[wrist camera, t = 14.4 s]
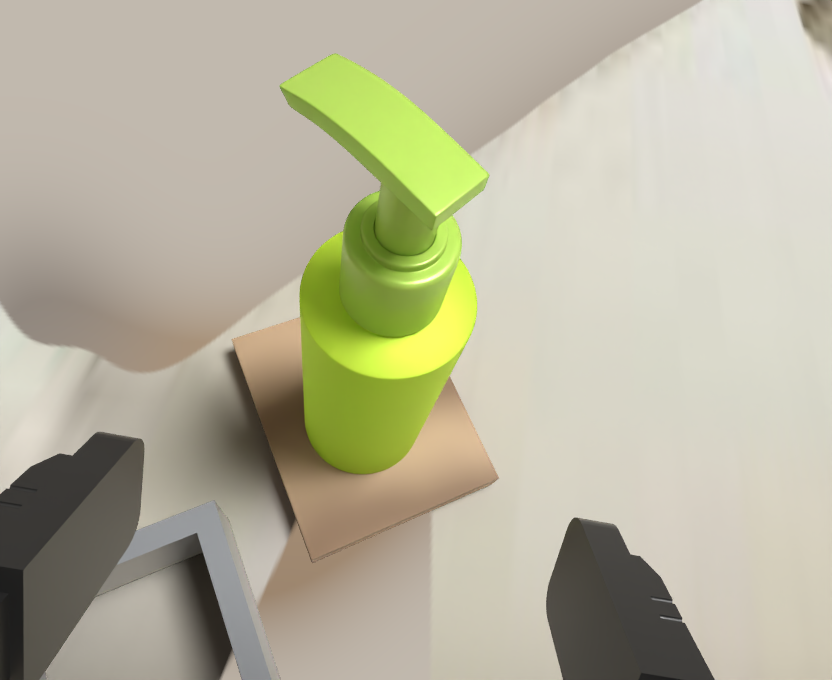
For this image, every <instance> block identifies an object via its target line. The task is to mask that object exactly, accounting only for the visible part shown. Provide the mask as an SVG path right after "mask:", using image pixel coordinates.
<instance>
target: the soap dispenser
mask: <svg viewBox="0 0 832 680" xmlns="http://www.w3.org/2000/svg"><path fill="white" fill-rule="evenodd" d="M280 89H281V91H282V93H283V94H284V96H285V98H286V100H287V102H288V104H289V105H290V107H292V108H293V109H294V110H296V111H297V112H299V113H300V114H302V115H303V116H305V117H306V118H308V119H309V120H311V121H312V122H313V123H315V124H316V125H317V126H319V127H320V128H321V129H323V130H324V131H325V132H326V133H328V134H329V135H330V136H331V137H333V138H334V139H335V140H336V141H337V142H338V143H339V144H340V145H342V146H343V147H344V148H345V149H346V150H347V151H348V152H349V153H350V154H351V155H353V156H354V157H355V158H356V159H357V160H358V161H359V162H360V163H361V164H362V165H363V166H364V167H365V168H366V169H367V170H368V171H370V172H371V173H372V174H373V175H374V176H375V177H376V178H377V179H378V180H379V181H380V182H381V186H380V191H378V192H375V193H373V194H370V195H368V196H367V197H365V198H364V199H362V200H361V201H360V202H358V203H357V204H356V205H355V207H354V208H353V209H352V210H351V212H350V213H349V215H348V217H347V220H346V222H345V225H344V230H343V231H342V232H340V233H338V234H337V235H335V236H333V237H332V238H331V239H329V240H328V241H326V242H325V243H324V244H323V245H322V246H321V247H320V248H319V249H318V250H317V251H316V252H315V254H314V255H313V256H312V258H311V259H310V261H309V263H308V264H307V266H306V269H305V271H304V274H303V277H302V280H301V285H300V322H301V346H302V369H303V392H304V415H305V428H306V432H307V435H308V438H309V441H310V443H311V445H312V446H313V448H314V449H315V451H316V452H317V453H318V454H319V456H320V457H321V458H322V459H324V460H325V461H326V462H327V463H329V464H330V465H332V466H333V467H335V468H337V469H339V470H342V471H345V472H348V473H353V474H372V473H377V472H381V471H383V470H386V469H388V468H390V467H392V466H394V465H395V464H397V463H398V462H399V461H400V460H402V459H403V458H404V457H405V456H406V455H407V453H408V452H409V451H410V449H411V448H412V446H413V444H414V442H415V441H416V439H417V437H418V435H419V433H420V431H421V429H422V427H423V425H424V423H425V421H426V420H427V418H428V416H429V414H430V412H431V410H432V408H433V406H434V404H435V402H436V400H437V399H438V397H439V395H440V393H441V391H442V389H443V387H444V385H445V383H446V381H447V380H448V378H449V376H450V374H451V372H452V370H453V368H454V366H455V364H456V362H457V360H458V359H459V357H460V355H461V353H462V351H463V349H464V347H465V345H466V343H467V341H468V339H469V337H470V335H471V333H472V331H473V328H474V325H475V321H476V315H477V297H476V291H475V287H474V284H473V281H472V278H471V276H470V274H469V272H468V270H467V268H466V266H465V265H464V263H463V262H462V261H461V259H460V255H461V249H462V238H461V233H460V229H459V226H458V224H457V222H456V220H455V218H454V217H453V214H454V213H455V212H457V211H458V210H459V209H460V208H462V207H463V206H464V205H465V204H467V203H468V202H469V201H470V200H472V199H473V198H474V197H475V196H477V195H478V194H479V193H480V192H482V191H483V190H484V188H485V186H486V183H487V180H488V178H489V174H488V173H487V172H486V171H485V170H484V169H483V168H482V167H481V166H480V165H479V164H478V163H477V162H476V161H475V160H474V159H473V158H472V157H471V156H470V155H469V154H468V153H467V152H466V151H465V150H464V149H463V148H462V147H461V146H460V145H458V143H457V142H455V141H454V140H453V139H452V138H451V137H450V136H449V135H448V134H447V133H446V132H445V131H444V130H443V129H442V128H441V127H439V126H438V125H437V124H436V123H435V122H434V121H433V120H432V119H431V118H430V117H429V116H427V115H426V114H425V113H424V112H423V111H422V110H421V109H420V108H418V107H417V106H416V105H415V104H414V103H413V102H411V101H410V100H409V99H408V98H406V97H405V96H404V95H403V94H401V93H400V92H398V91H397V90H396V89H395V88H394V87H392V86H391V85H389V84H388V83H386V82H385V81H384V80H382V79H381V78H379V77H378V76H376V75H375V74H373V73H371V72H370V71H368V70H366V69H365V68H363V67H361V66H360V65H358V64H356V63H354V62H352V61H350V60H348V59H347V58H345V57H342V56H340V55H338V54H332V55H330V56H328V57H326V58H325V59H323V60H321V61H320V62H317V63H316V64H314V65H312V66H311V67H309V68H307V69H305V70H304V71H302V72H300V73H299V74H297V75H295V76H294V77H292V78H290V79H289V80H287V81H285V82H284V83H282V84H281V85H280Z"/></svg>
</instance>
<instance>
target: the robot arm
mask: <svg viewBox="0 0 832 680" xmlns="http://www.w3.org/2000/svg"><path fill="white" fill-rule="evenodd" d="M143 464H144V443H143V441H142V440H141V439H138V438H132V437H127V436H121V435H115V434H110V433H104V432H97V433H95V434H94V435H93V436H92V437H91V438H90V439H89V440H88V441H87V442H86V443H85V444H84V445H83V446H82V447H81V448H80V449H79V450H78V451H77V452H76V453H75V454H74V455H73V456H71V455H65V454H57V455H55V456H53V457H51V458H49V459H47V460H44V461H42V462H40V463H38V464H36V465H34V466H31V467H30V468H29V469H28V470H27V471H25V472H24V473H23V474H22V475H21V476H20V477H19V478H18V479H17V480H16V481H14V482H13V483H12V484H11V486H10V489H6V490H5V491H3V492H2V493H1V494H0V680H40V678H41V677H42V675H43V674H44V672H45V671H46V669H47V668H48V666H49V665H50V663H51V662H52V660H53V659H54V657H55V656H56V654H57V653H58V651H59V650H60V648H61V647H62V645H63V644H64V642H65V641H66V639H67V638H68V636H69V635H70V633H71V632H72V630H73V629H74V627H75V626H76V624H77V623H78V621H79V620H80V619H81V617H82V616H83V614H84V613H85V611H86V610H87V608H88V607H89V605H90V604H91V602H92V601H93V599H94V598H95V596H96V595H97V593H98V592H99V590H100V589H101V587H102V586H103V584H104V583H105V581H106V580H107V578H108V577H109V575H110V574H111V572H112V571H113V569H114V568H115V566H116V565H117V563H118V562H119V560H120V559H121V557H122V556H123V554H124V553H125V551H126V550H127V548H128V547H129V545H130V543H131V541H132V539H133V537H134V534H135V531H136V528H137V525H138V521H139V516H140V507H141V493H142V478H143ZM546 610H547V618H548V622H549V626H550V630H551V634H552V638H553V642H554V646H555V649H556V653H557V657H558V661H559V665H560V669H561V673H562V677H563V680H714V678H713V676H712V674H711V672H710V670H709V668H708V666H707V664H706V663H705V661H704V659H703V657H702V655H701V653H700V651H699V649H698V647H697V645H696V643H695V642H694V640H693V638H692V636H691V634H690V632H689V630H688V628H687V626H686V624H685V623H682V617H681V615H680V613H679V611H678V609H677V607H676V605H675V604H672V598H671V596H670V594H669V592H668V590H667V588H666V586H665V584H664V583H663V581H662V579H661V577H660V576H659V575H658V574H657V573H656V572H655V571H654V570H653V569H652V568H651V567H650V566H649V565H648V564H647V563H646V562H645V561H644V560H643V559H642V558H641V557H640V556H635V555H630V553H629V551H628V549H627V547H626V545H625V543H624V540H623V538H622V536H621V534H620V532H619V530H618V528H617V527H616V526H615V525H614V524H609V523H604V522H598V521H593V520H587V519H581V518H573V519H572V520H571V522H570V524H569V526H568V528H567V531H566V534H565V537H564V540H563V543H562V546H561V549H560V552H559V555H558V558H557V561H556V564H555V567H554V570H553V573H552V576H551V579H550V582H549V586H548V591H547V600H546Z"/></svg>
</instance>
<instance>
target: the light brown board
mask: <svg viewBox="0 0 832 680" xmlns="http://www.w3.org/2000/svg"><path fill="white" fill-rule="evenodd" d="M232 341H233V345H234V348H235V352H236V354H237V357H238V360H239V363H240V365H241V368H242V371H243V374H244V377H245V379H246V382H247V385H248V388H249V390H250V393H251V396H252V399H253V401H254V404H255V407H256V410H257V412H258V415H259V418H260V421H261V423H262V426H263V429H264V432H265V435H266V437H267V440H268V443H269V446H270V448H271V451H272V454H273V457H274V459H275V462H276V465H277V468H278V470H279V473H280V476H281V479H282V481H283V484H284V487H285V490H286V493H287V495H288V498H289V501H290V504H291V506H292V509H293V512H294V515H295V517H296V520H297V523H298V526H299V528H300V531H301V534H302V537H303V539H304V542H305V545H306V548H307V550H308V553H309V556H310V559H311V562H312V563H314V562H316V561H318V560H321V559H323V558H325V557H327V556H330V555H332V554H334V553H336V552H339V551H341V550H343V549H346V548H348V547H350V546H352V545H355V544H357V543H359V542H361V541H364V540H366V539H368V538H371V537H373V536H375V535H377V534H380V533H382V532H384V531H386V530H389V529H391V528H393V527H396V526H398V525H400V524H402V523H405V522H407V521H409V520H411V519H414V518H416V517H418V516H420V515H423V514H425V513H427V512H430V511H432V510H434V509H436V508H439V507H441V506H443V505H446V504H448V503H450V502H452V501H455V500H457V499H459V498H461V497H464V496H466V495H468V494H471V493H473V492H475V491H477V490H480V489H482V488H484V487H486V486H489V485H491V484H492V483H494V482H495V481H496V480H497V479H498V478H499V477H498V475H497V473H496V471H495V469H494V467H493V465H492V463H491V461H490V459H489V457H488V455H487V453H486V450H485V448H484V446H483V444H482V442H481V440H480V438H479V436H478V434H477V432H476V430H475V428H474V426H473V424H472V422H471V420H470V417H469V415H468V413H467V411H466V409H465V407H464V405H463V403H462V401H461V399H460V397H459V395H458V393H457V391H456V389H455V386H454V384H453V382H452V380H451V378H450V376H449V378H448V380H447V381H446V383H445V385H444V387H443V389H442V391H441V393H440V395H439V397H438V399H437V400H436V402H435V404H434V406H433V408H432V410H431V412H430V414H429V416H428V418H427V420H426V421H425V423H424V425H423V427H422V429H421V431H420V433H419V435H418V437H417V439H416V441H415V442H414V444H413V446H412V448H411V449H410V451H409V452H408V453H407V455H406V456H405V457H404V458H403V459H402V460H400V461H399V462H398V463H397V464H395V465H394V466H392V467H390V468H388V469H386V470H383V471H381V472H377V473H372V474H353V473H348V472H345V471H342V470H339V469H337V468H335V467H333V466H332V465H330V464H329V463H327V462H326V461H325V460H324V459H322V458H321V457H320V456H319V454H318V453H317V452H316V451H315V449H314V448H313V446H312V445H311V443H310V441H309V438H308V435H307V432H306V428H305V415H304V392H303V369H302V346H301V322H300V318H296V319H293V320H290V321H287V322H284V323H281V324H278V325H275V326H271V327H268V328H265V329H262V330H259V331H256V332H253V333H250V334H246V335H243V336H240V337H237V338H234V339H232Z"/></svg>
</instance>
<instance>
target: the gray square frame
mask: <svg viewBox="0 0 832 680" xmlns="http://www.w3.org/2000/svg"><path fill="white" fill-rule="evenodd" d="M200 553H203V554H204V557H205V561H206V564H207V567H208V570H209V574H210V577H211V580H212V583H213V587H214V590H215V593H216V597H217V600H218V603H219V606H220V610H221V613H222V616H223V619H224V623H225V626H226V629H227V633H228V636H229V639H230V642H231V646H232V649H233V652H234V655H235V659H236V662H237V665H238V668H239V672H240V675H241V678H242V680H281V679H280V676H279V673H278V670H277V667H276V664H275V661H274V657H273V654H272V651H271V648H270V645H269V642H268V639H267V636H266V633H265V630H264V627H263V624H262V621H261V617H260V614H259V612H258V608H257V605H256V602H255V599H254V596H253V593H252V590H251V587H250V584H249V581H248V577H247V574H246V571H245V568H244V565H243V562H242V559H241V556H240V553H239V550H238V547H237V544H236V541H235V537H234V534H233V531H232V528H231V525H230V522H229V519H228V518H227V517H226V515H225V514H224V513H223V511H222V510H221V509H220V507H219V506H218V505H217V503H216V502H215V501H214V500H213V501H211V502H208V503H206V504H203V505H200V506H198V507H195V508H193V509H190V510H188V511H185V512H183V513H180V514H177V515H175V516H172V517H170V518H167V519H165V520H162V521H160V522H157V523H154V524H152V525H149V526H147V527H144V528H142V529H139V530H137V531H135V534H134V537H133V539H132V541H131V543H130V545H129V547H128V548H127V550H126V551H125V553H124V554H123V556H122V557H121V559H120V560H119V562H118V563H117V565H116V566H115V568H114V569H113V571H112V572H111V574H110V575H109V577H108V578H107V580H106V581H105V583H104V584H103V586H102V587H101V589H100V590H99V592H98V593H97V595H96V596H99V595H101V594H103V593H106V592H108V591H111V590H113V589H115V588H118V587H120V586H123V585H125V584H128V583H130V582H132V581H135V580H137V579H140V578H142V577H145V576H147V575H149V574H152V573H154V572H157V571H159V570H161V569H164V568H166V567H169V566H171V565H174V564H176V563H178V562H181V561H183V560H186V559H188V558H190V557H193V556H195V555H198V554H200ZM96 596H95V597H96ZM40 680H47V679H46V674H45V672H44V674H43V675H42V677H41V678H40Z"/></svg>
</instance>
